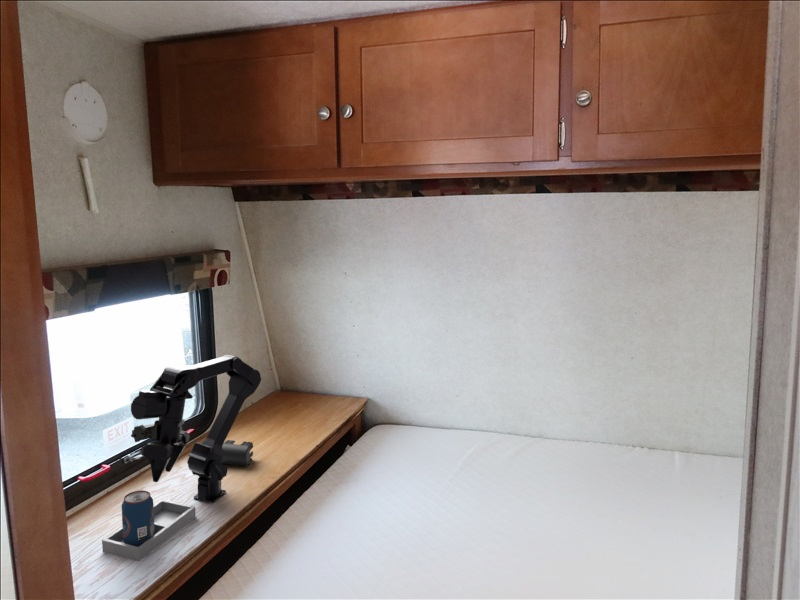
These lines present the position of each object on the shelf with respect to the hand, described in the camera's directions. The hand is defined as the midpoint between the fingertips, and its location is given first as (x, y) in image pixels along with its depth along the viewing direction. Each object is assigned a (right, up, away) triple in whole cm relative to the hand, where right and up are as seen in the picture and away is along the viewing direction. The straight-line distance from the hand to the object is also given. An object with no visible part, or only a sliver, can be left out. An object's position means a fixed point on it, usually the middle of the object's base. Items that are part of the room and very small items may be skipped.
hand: (161, 476), depth 149 cm
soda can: (-2, -14, -8) cm, 16 cm away
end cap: (+9, -7, +36) cm, 37 cm away
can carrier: (-1, -13, -4) cm, 14 cm away
